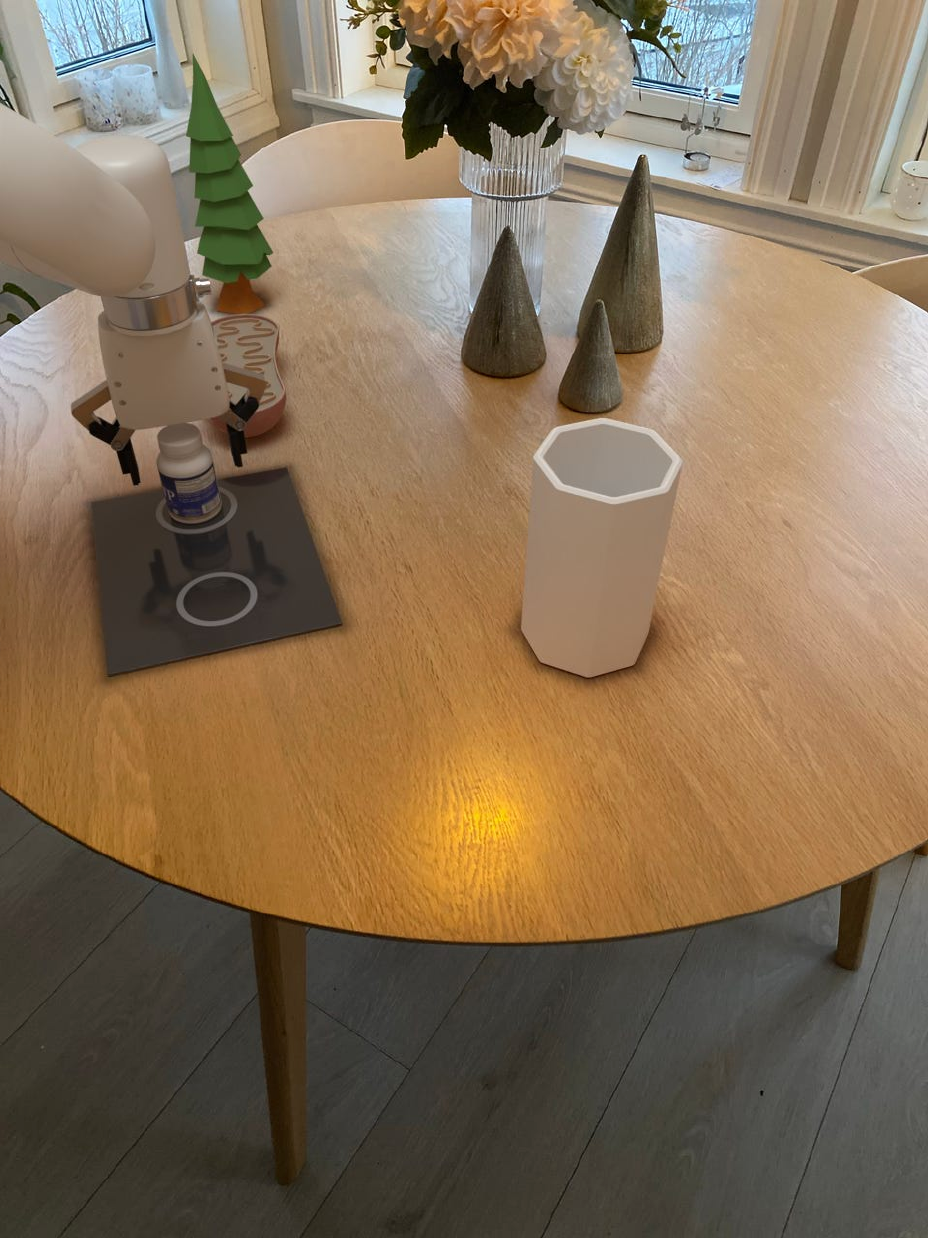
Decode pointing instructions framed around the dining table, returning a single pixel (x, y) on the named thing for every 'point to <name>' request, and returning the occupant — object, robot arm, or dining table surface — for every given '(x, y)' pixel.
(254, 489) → the hob
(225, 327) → the anatomical model
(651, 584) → the cup
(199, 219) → the decorative tree
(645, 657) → the dining table surface
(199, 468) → the pill bottle
